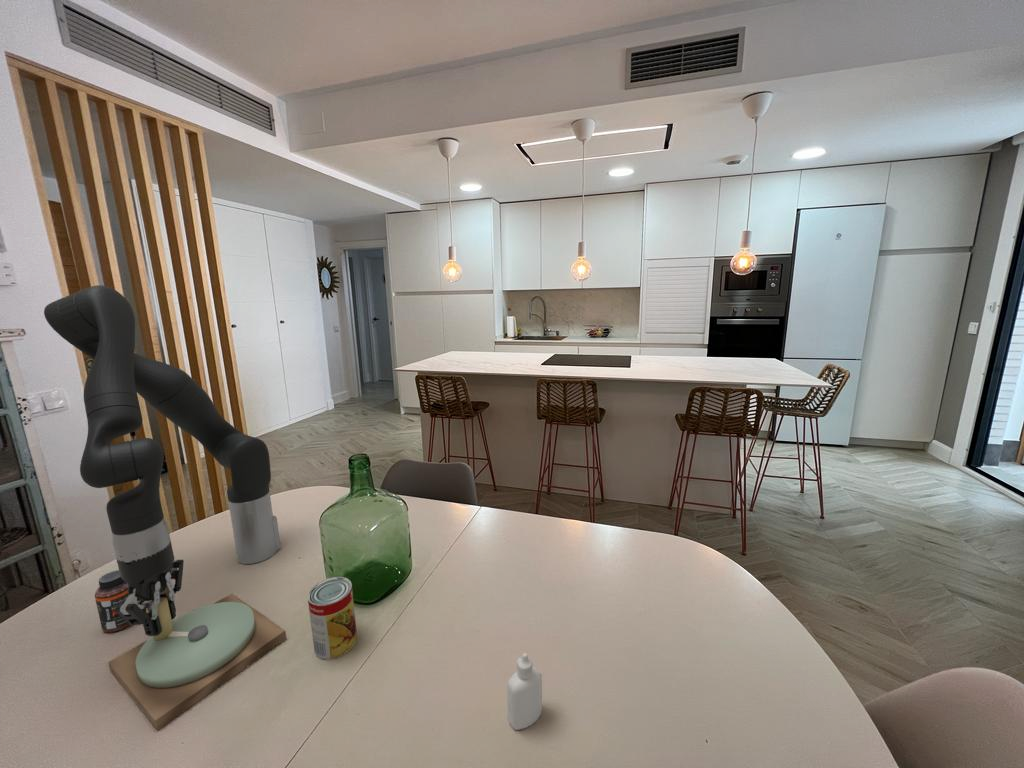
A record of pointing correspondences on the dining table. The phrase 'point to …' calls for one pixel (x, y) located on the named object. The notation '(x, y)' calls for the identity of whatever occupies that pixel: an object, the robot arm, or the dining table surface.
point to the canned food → (332, 617)
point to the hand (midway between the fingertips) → (162, 626)
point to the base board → (177, 699)
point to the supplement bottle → (111, 601)
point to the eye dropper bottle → (524, 694)
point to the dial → (194, 643)
